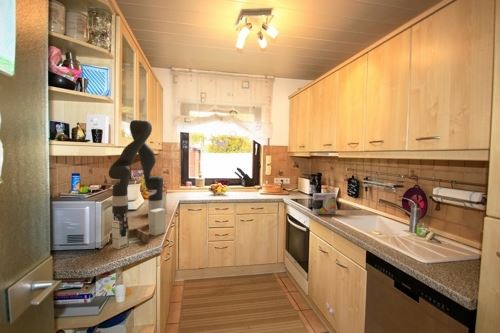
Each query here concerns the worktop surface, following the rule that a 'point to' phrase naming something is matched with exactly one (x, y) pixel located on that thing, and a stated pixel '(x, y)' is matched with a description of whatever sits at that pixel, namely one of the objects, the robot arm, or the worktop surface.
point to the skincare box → (157, 221)
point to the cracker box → (151, 192)
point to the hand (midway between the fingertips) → (120, 234)
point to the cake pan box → (324, 203)
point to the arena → (135, 236)
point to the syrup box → (119, 235)
